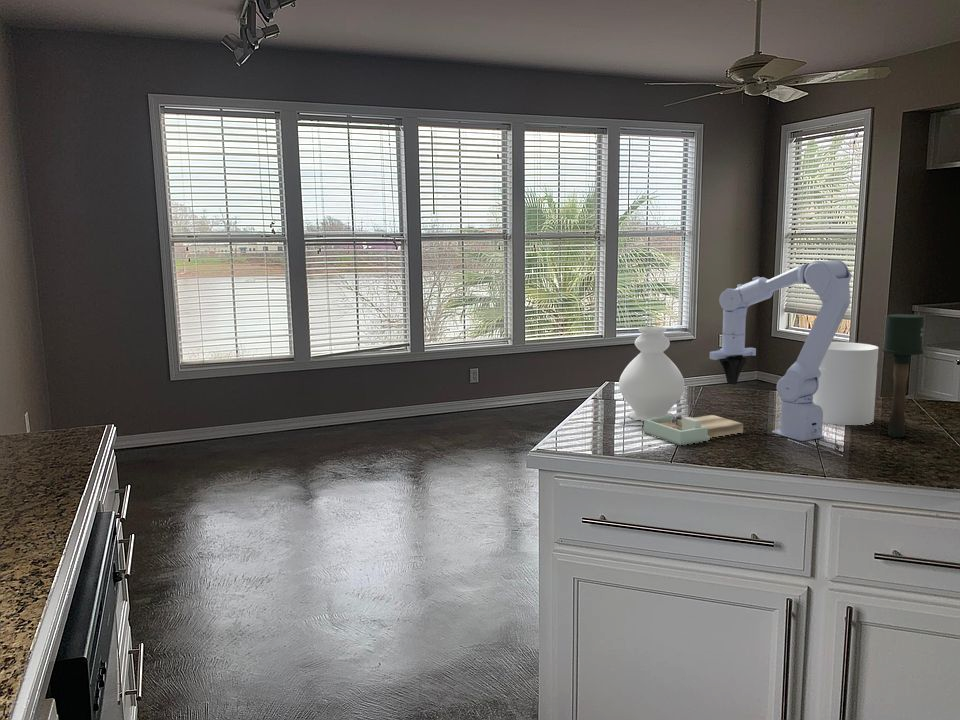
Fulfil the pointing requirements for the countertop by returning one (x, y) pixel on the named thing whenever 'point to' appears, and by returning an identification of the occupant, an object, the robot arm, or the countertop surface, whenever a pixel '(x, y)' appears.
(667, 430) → the tray
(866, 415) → the canister
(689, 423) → the cream tile
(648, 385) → the decorative vase
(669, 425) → the terracotta tile
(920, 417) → the countertop surface
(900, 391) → the stick grenade
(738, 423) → the board
